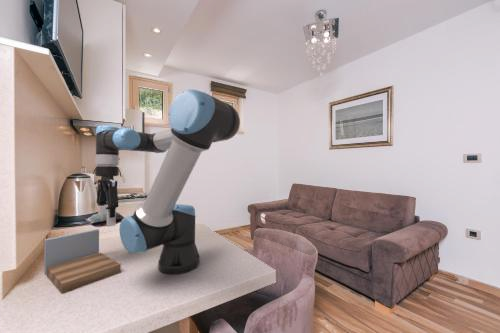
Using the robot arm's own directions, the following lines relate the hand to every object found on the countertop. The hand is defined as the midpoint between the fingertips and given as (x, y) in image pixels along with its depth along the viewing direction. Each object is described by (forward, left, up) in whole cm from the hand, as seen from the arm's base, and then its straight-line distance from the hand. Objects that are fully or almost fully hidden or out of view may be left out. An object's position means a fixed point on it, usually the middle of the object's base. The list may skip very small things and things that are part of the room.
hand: (106, 223), depth 82 cm
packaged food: (0, 0, -1) cm, 1 cm away
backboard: (+9, +8, -16) cm, 20 cm away
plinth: (-3, +8, -16) cm, 18 cm away
